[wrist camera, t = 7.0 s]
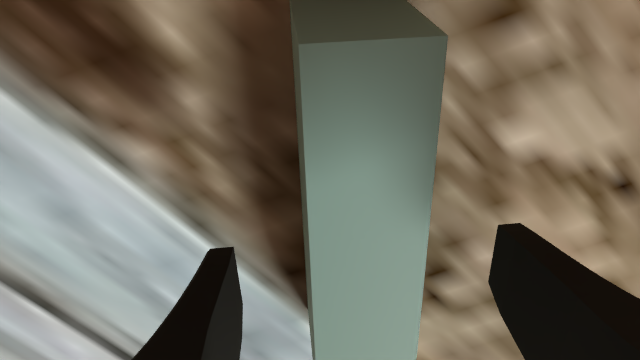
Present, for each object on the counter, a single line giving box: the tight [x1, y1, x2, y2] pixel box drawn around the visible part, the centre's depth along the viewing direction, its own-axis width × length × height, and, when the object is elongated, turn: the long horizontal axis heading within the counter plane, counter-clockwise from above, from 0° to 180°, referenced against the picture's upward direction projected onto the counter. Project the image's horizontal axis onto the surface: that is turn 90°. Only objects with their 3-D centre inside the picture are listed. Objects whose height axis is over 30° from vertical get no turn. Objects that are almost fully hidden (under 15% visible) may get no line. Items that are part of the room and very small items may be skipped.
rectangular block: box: [289, 0, 448, 360], centre depth 15 cm, size 3×12×5 cm, turn 2°
